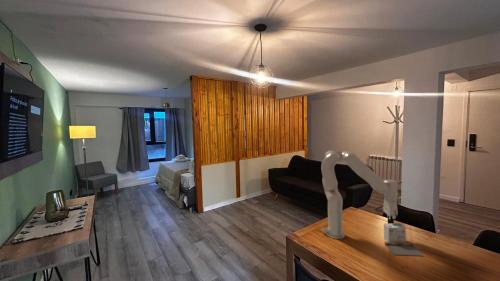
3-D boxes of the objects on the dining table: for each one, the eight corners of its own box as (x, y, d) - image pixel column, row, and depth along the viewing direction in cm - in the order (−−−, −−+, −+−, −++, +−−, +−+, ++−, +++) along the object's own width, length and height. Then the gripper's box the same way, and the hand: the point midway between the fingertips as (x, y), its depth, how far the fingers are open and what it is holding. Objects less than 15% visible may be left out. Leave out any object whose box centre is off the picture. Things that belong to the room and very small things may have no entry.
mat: (393, 255, 127) (393, 254, 127) (386, 246, 136) (386, 245, 136) (423, 256, 124) (423, 255, 124) (413, 247, 134) (413, 246, 134)
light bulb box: (399, 238, 145) (399, 222, 144) (406, 243, 138) (406, 227, 137) (383, 238, 146) (383, 222, 145) (388, 243, 139) (388, 227, 138)
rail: (385, 245, 137) (385, 243, 137) (384, 244, 138) (384, 242, 138) (413, 246, 134) (413, 244, 134) (412, 245, 136) (411, 243, 136)
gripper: (379, 194, 153) (379, 219, 154) (390, 201, 138) (390, 229, 139) (391, 194, 152) (391, 219, 153) (402, 202, 137) (402, 229, 138)
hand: (390, 224), depth 146 cm, fingers closed
